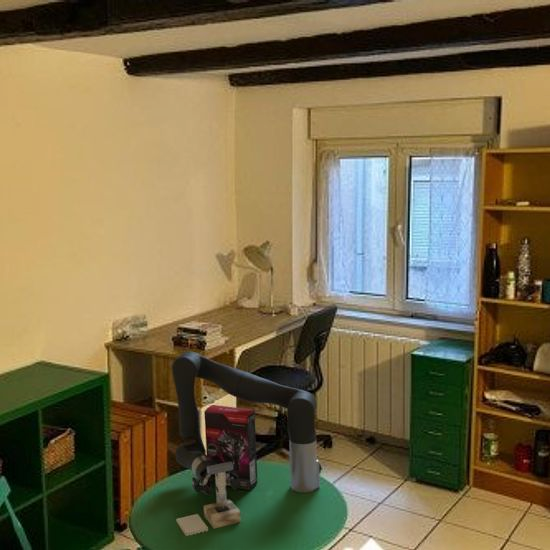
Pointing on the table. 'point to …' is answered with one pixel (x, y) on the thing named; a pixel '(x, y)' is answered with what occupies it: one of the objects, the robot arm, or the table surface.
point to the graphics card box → (233, 441)
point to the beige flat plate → (192, 524)
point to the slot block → (222, 515)
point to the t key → (220, 483)
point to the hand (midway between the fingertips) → (223, 490)
